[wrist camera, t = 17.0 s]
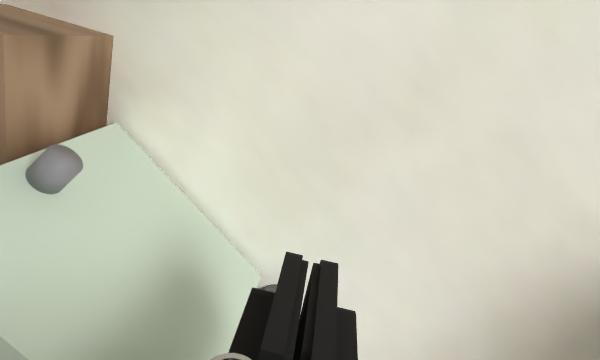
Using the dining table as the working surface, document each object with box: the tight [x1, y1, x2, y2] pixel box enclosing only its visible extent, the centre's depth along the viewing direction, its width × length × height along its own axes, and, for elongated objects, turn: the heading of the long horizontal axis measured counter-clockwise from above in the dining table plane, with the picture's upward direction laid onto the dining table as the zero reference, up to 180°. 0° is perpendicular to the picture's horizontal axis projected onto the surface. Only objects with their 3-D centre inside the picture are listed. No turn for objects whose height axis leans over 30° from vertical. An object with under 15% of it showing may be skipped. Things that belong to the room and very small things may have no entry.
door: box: [0, 122, 261, 360], centre depth 14 cm, size 10×2×10 cm, turn 40°
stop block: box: [0, 4, 113, 165], centre depth 16 cm, size 10×5×6 cm, turn 165°
